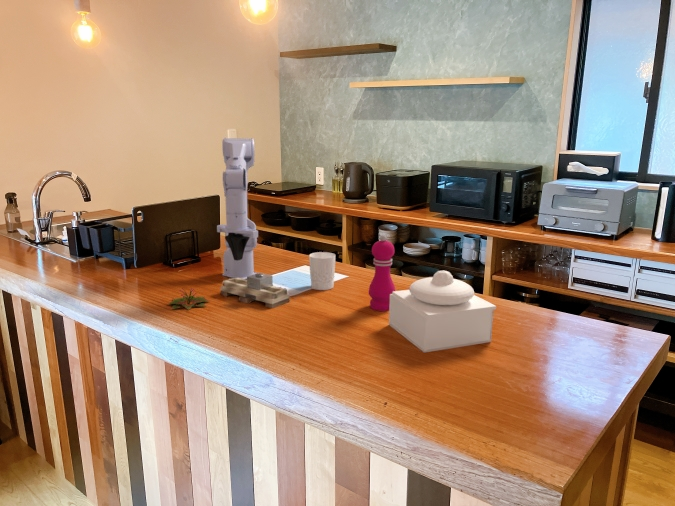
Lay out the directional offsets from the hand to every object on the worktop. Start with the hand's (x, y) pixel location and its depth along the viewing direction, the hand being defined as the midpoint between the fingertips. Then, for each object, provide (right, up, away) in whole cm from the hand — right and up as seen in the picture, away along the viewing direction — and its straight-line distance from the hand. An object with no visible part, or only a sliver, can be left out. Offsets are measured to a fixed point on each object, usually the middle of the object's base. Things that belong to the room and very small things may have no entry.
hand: (238, 259), depth 153 cm
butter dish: (+53, -18, -25) cm, 61 cm away
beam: (+5, -11, -1) cm, 12 cm away
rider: (+7, -9, -3) cm, 11 cm away
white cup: (+24, -9, +10) cm, 27 cm away
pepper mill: (+40, -13, -8) cm, 43 cm away
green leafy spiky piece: (-12, -13, -6) cm, 19 cm away
